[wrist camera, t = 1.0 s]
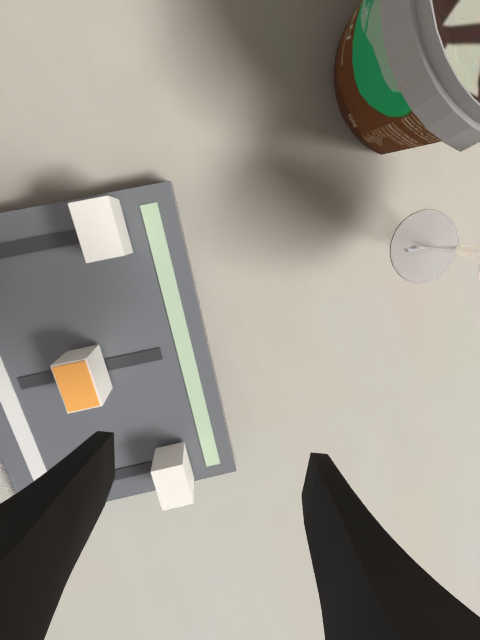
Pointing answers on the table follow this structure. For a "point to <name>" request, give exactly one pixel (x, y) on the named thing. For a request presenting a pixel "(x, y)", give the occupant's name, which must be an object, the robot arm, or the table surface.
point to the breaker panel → (106, 343)
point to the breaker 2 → (173, 476)
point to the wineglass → (427, 246)
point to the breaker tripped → (82, 378)
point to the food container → (411, 73)
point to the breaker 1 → (100, 228)
